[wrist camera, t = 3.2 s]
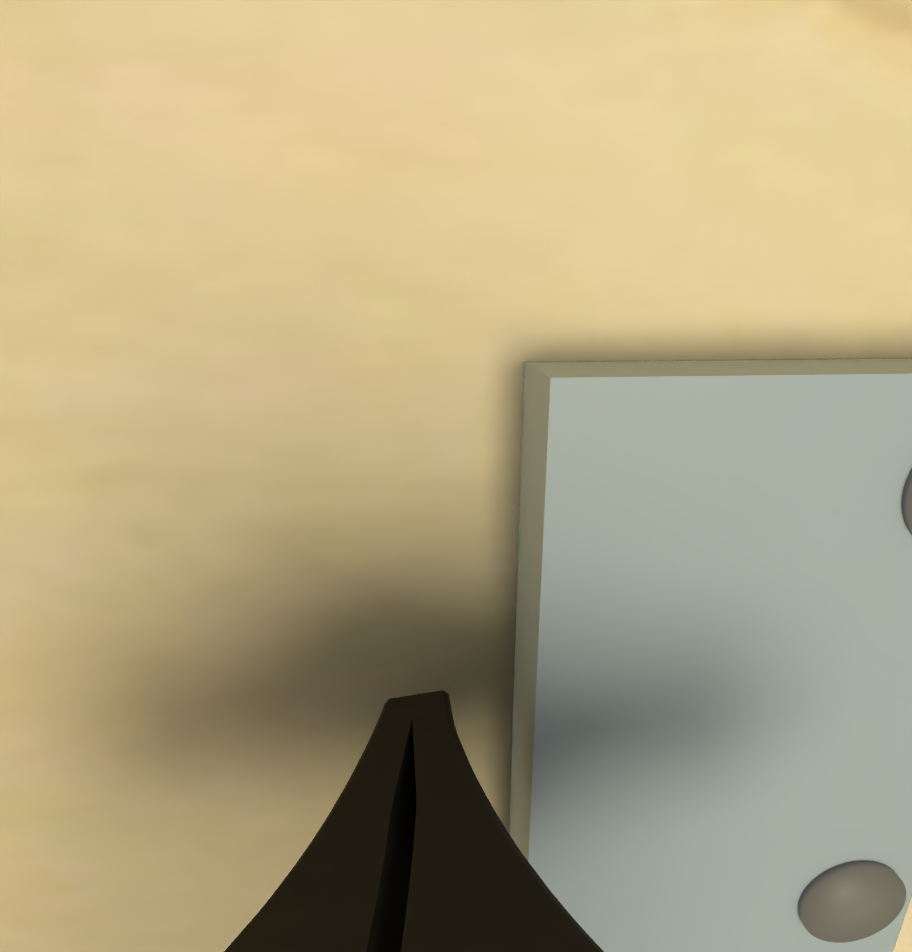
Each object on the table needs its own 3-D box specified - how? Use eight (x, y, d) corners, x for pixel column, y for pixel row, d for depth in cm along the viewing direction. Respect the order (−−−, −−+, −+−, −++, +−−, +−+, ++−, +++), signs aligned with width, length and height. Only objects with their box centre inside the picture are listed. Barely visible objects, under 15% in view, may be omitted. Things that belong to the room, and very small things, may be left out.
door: (809, 839, 16) (896, 962, 13) (506, 854, 16) (523, 983, 13) (930, 355, 12) (1100, 372, 9) (520, 360, 11) (552, 379, 8)
